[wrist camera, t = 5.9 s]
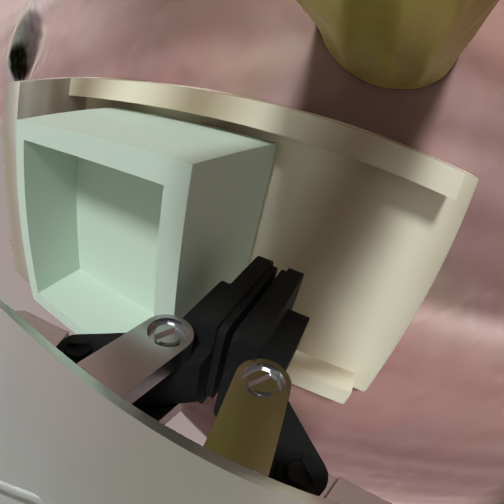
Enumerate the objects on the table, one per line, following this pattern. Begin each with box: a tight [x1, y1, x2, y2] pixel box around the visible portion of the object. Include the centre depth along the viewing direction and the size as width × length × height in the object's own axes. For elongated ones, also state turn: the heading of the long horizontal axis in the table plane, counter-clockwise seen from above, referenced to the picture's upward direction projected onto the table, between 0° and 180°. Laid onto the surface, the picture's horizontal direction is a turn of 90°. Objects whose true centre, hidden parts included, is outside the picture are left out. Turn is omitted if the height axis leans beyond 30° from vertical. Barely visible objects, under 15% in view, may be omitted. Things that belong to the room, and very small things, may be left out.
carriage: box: [16, 107, 277, 334], centre depth 13 cm, size 9×9×6 cm
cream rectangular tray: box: [3, 77, 479, 404], centre depth 14 cm, size 22×12×6 cm, turn 76°
